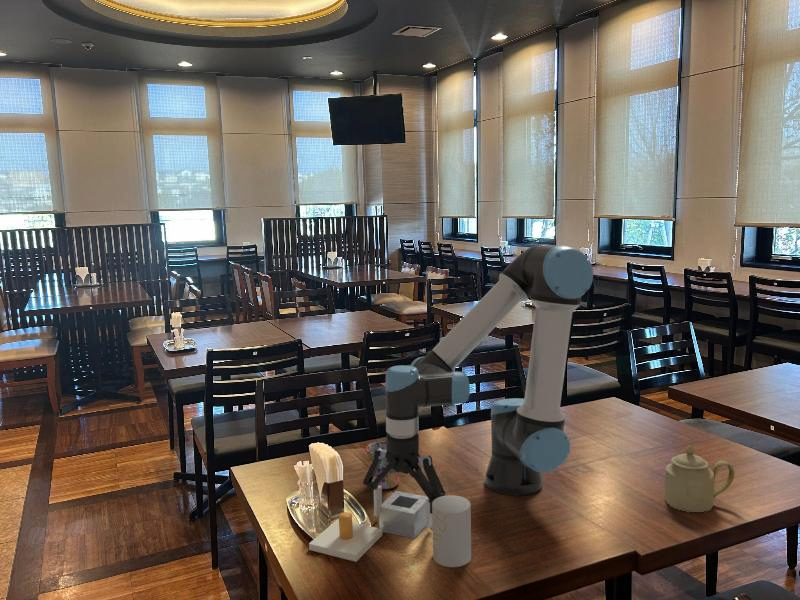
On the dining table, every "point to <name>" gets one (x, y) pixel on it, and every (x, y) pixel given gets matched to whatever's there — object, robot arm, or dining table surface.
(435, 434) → the dining table surface
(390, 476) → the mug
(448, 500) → the white upright cylinder
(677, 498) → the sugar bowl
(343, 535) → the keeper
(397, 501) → the grey block with hole
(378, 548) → the dining table surface
